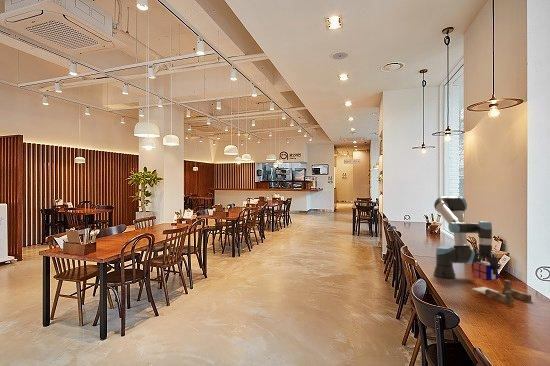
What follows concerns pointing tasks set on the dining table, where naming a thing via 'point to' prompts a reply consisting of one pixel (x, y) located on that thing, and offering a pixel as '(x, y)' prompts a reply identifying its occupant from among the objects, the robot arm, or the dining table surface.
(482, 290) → the white square panel
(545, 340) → the dining table surface
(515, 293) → the plane body cradle
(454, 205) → the robot arm
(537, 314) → the dining table surface
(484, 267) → the puzzle cube
